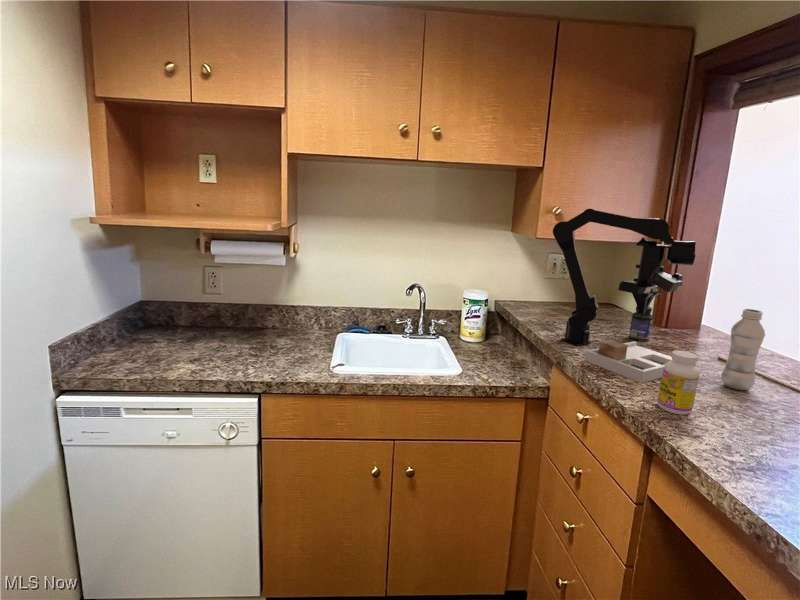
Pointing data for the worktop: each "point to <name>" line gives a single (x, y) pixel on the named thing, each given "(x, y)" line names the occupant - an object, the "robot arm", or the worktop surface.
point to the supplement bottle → (679, 383)
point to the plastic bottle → (744, 351)
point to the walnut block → (613, 349)
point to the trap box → (632, 363)
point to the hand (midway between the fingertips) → (641, 313)
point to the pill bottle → (641, 325)
